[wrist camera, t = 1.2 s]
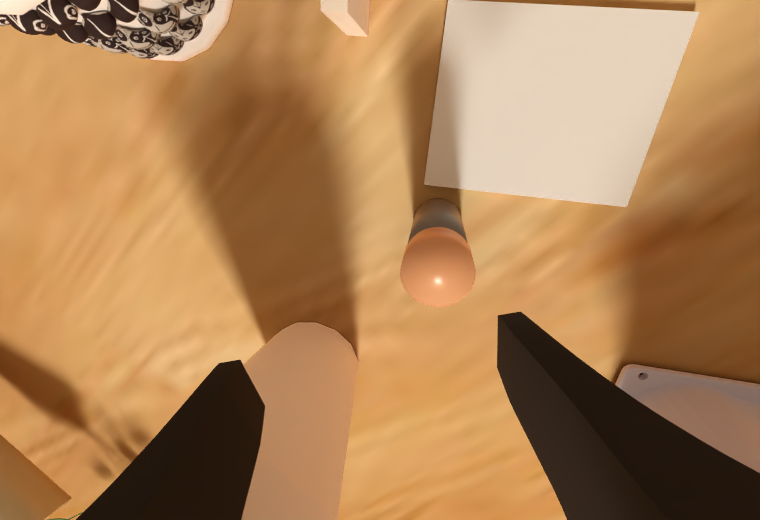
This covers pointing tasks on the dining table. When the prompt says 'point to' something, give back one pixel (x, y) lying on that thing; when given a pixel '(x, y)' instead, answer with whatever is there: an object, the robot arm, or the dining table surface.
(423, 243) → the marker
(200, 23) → the decorative candle
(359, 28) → the rectangular block
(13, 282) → the dining table surface
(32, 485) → the flower vase
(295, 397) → the foam cup
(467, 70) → the paper
